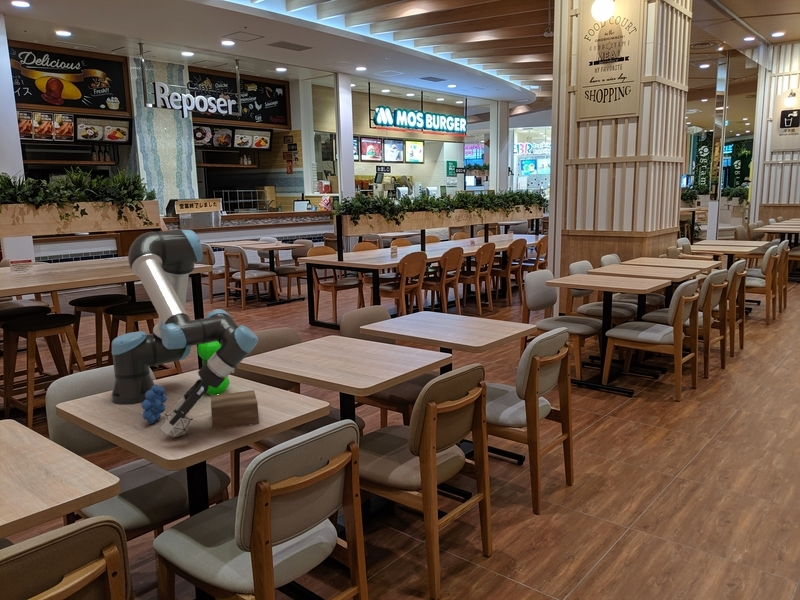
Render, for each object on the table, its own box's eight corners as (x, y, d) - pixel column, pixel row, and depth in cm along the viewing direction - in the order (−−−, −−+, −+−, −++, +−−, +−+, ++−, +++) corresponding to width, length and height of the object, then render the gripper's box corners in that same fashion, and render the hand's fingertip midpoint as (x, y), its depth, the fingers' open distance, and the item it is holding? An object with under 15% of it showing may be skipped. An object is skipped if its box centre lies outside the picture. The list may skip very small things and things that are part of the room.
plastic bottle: (234, 388, 230) (229, 323, 226) (224, 397, 220) (218, 329, 216) (208, 388, 231) (202, 323, 227) (197, 397, 221) (191, 330, 216)
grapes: (155, 414, 205) (152, 379, 203) (173, 415, 203) (170, 380, 201) (133, 427, 193) (129, 390, 191) (151, 428, 192) (148, 391, 190)
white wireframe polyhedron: (184, 449, 185) (194, 428, 180) (155, 444, 181) (164, 422, 176) (188, 425, 191) (197, 405, 186) (159, 420, 188) (168, 399, 183)
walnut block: (212, 415, 203) (210, 395, 201) (255, 410, 207) (254, 390, 205) (213, 430, 189) (211, 409, 188) (259, 424, 193) (257, 403, 192)
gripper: (222, 390, 172) (170, 446, 172) (229, 367, 196) (184, 416, 196) (200, 373, 171) (149, 430, 170) (211, 352, 194) (165, 402, 194)
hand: (167, 423), depth 183 cm, fingers open, 12 cm apart
